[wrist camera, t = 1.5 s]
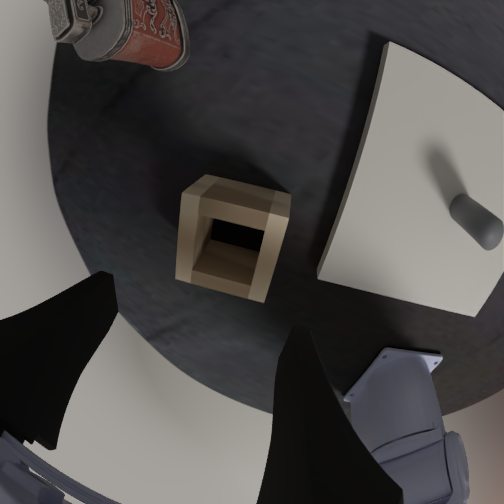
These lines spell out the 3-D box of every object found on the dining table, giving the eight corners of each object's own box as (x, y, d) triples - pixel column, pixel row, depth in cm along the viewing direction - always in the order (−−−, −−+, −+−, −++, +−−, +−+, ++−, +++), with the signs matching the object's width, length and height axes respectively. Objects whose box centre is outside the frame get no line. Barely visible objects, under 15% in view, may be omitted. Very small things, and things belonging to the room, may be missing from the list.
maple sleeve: (270, 267, 20) (264, 303, 16) (196, 247, 20) (175, 278, 16) (291, 194, 17) (289, 218, 13) (205, 174, 17) (182, 192, 14)
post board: (469, 308, 19) (491, 348, 14) (316, 269, 19) (319, 319, 15) (539, 150, 10) (579, 169, 6) (383, 45, 11) (416, 24, 7)
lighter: (126, -2, 11) (25, -33, 2) (167, -25, 10) (78, -80, 1) (154, 80, 14) (33, 78, 6) (200, 57, 13) (95, 20, 5)
